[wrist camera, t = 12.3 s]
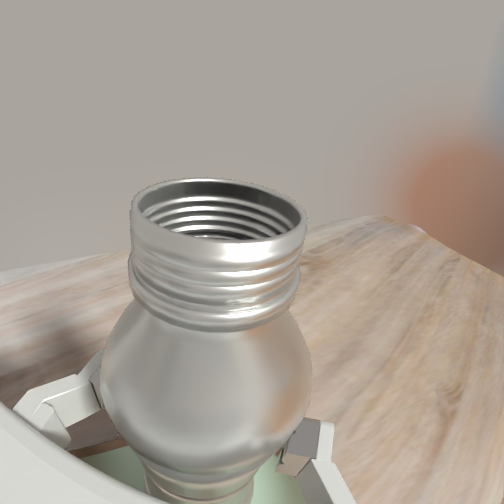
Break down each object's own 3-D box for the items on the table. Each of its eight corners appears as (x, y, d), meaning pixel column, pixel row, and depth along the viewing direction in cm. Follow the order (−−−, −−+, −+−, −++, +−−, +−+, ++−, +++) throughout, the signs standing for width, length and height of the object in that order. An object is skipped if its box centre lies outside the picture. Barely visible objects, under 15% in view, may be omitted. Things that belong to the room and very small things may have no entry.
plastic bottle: (132, 479, 16) (42, 179, 6) (213, 444, 20) (253, 159, 10) (182, 553, 12) (94, 385, 2) (267, 507, 16) (428, 244, 6)
